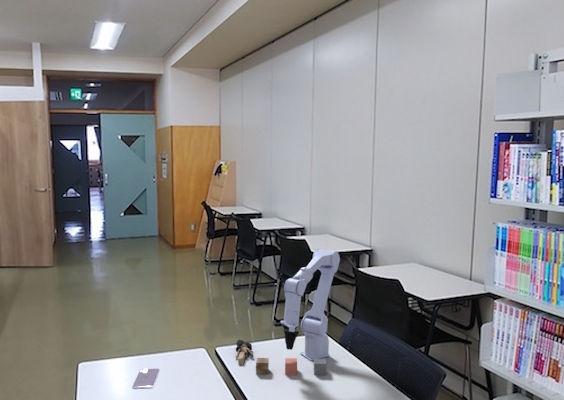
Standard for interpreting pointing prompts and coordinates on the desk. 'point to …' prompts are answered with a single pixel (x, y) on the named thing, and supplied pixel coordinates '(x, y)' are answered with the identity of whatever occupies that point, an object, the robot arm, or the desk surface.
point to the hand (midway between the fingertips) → (288, 346)
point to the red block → (290, 366)
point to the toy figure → (243, 350)
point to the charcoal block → (319, 366)
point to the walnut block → (262, 365)
